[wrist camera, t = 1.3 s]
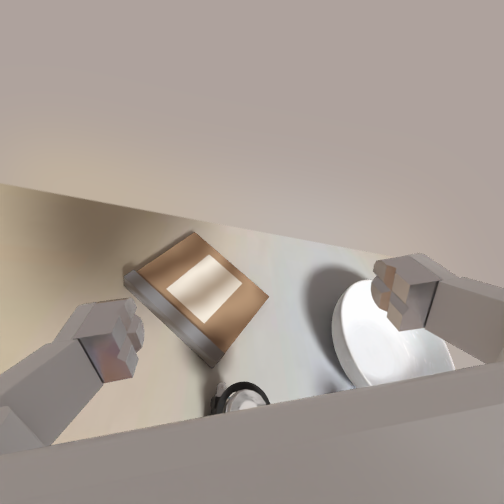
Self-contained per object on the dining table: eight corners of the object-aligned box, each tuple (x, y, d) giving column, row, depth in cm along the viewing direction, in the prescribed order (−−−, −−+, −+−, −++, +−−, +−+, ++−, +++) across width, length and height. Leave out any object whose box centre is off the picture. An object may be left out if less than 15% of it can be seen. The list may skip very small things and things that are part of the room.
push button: (198, 383, 32) (222, 361, 25) (239, 386, 34) (274, 366, 26) (191, 452, 28) (217, 451, 21) (238, 452, 30) (278, 450, 22)
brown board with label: (123, 285, 35) (123, 276, 34) (192, 237, 44) (196, 228, 43) (211, 368, 34) (217, 363, 32) (265, 300, 43) (271, 293, 41)
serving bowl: (367, 457, 35) (410, 458, 29) (293, 312, 43) (316, 293, 38) (440, 391, 46) (480, 383, 41) (369, 286, 54) (394, 269, 49)
